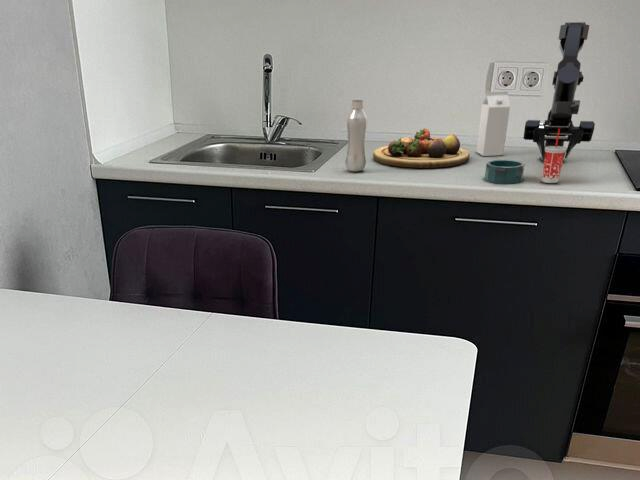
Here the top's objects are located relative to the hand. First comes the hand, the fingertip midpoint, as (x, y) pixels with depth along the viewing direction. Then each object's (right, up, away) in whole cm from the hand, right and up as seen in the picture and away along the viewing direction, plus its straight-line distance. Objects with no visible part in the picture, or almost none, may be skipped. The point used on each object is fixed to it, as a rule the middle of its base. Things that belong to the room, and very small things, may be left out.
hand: (554, 157), depth 208 cm
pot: (-12, -2, +10) cm, 15 cm away
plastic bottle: (-54, +6, +24) cm, 60 cm away
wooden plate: (-31, +15, +37) cm, 51 cm away
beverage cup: (+1, -5, +5) cm, 7 cm away
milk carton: (-6, +19, +42) cm, 46 cm away
